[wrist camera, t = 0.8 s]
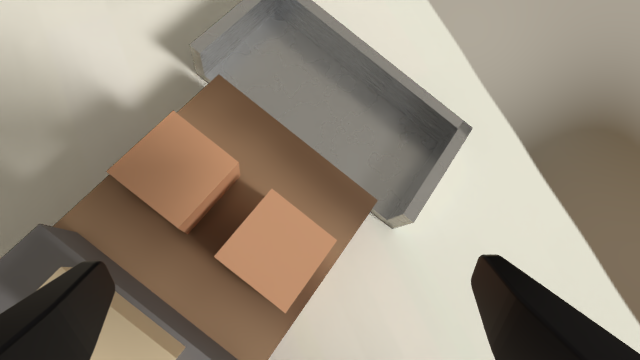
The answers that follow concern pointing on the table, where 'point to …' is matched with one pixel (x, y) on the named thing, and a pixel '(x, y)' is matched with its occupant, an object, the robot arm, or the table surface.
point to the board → (225, 223)
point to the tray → (336, 99)
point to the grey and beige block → (126, 307)
